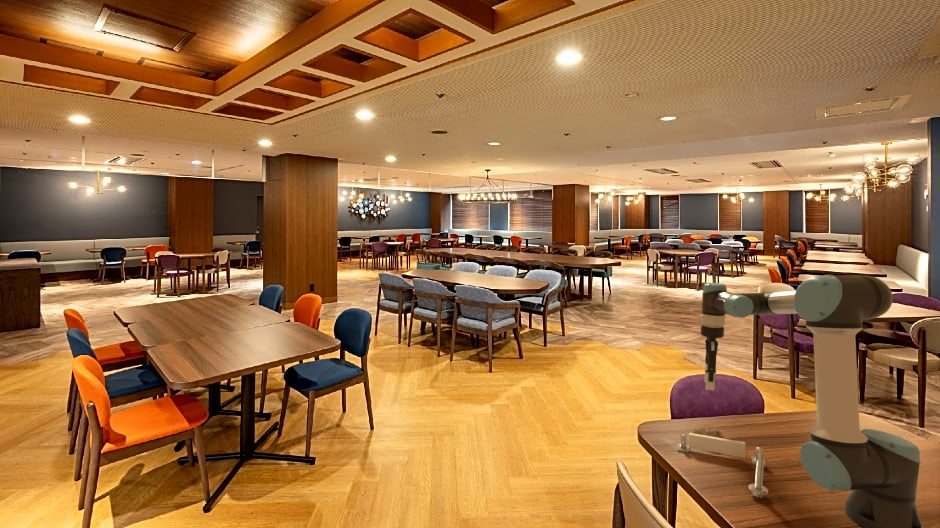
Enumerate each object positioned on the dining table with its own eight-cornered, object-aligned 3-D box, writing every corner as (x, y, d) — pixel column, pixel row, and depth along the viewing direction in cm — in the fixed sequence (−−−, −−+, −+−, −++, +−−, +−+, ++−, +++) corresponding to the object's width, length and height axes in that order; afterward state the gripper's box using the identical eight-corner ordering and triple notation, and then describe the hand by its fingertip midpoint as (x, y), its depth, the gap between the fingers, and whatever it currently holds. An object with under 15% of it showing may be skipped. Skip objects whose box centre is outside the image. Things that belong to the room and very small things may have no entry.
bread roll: (691, 452, 165) (692, 437, 161) (693, 430, 173) (694, 415, 169) (723, 459, 161) (724, 443, 157) (723, 436, 168) (725, 420, 165)
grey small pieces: (765, 467, 149) (766, 452, 148) (677, 450, 159) (678, 436, 159) (763, 460, 153) (764, 446, 152) (677, 445, 163) (678, 431, 163)
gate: (744, 457, 152) (745, 444, 152) (688, 447, 159) (689, 434, 158) (743, 455, 154) (744, 442, 153) (688, 445, 160) (689, 432, 160)
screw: (760, 502, 130) (744, 492, 135) (771, 498, 132) (755, 489, 137) (763, 457, 129) (747, 449, 133) (774, 454, 131) (758, 446, 135)
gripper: (699, 318, 181) (696, 375, 184) (702, 330, 162) (699, 393, 165) (721, 320, 178) (718, 378, 181) (727, 332, 159) (723, 397, 162)
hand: (709, 385), depth 173 cm, fingers open, 8 cm apart
